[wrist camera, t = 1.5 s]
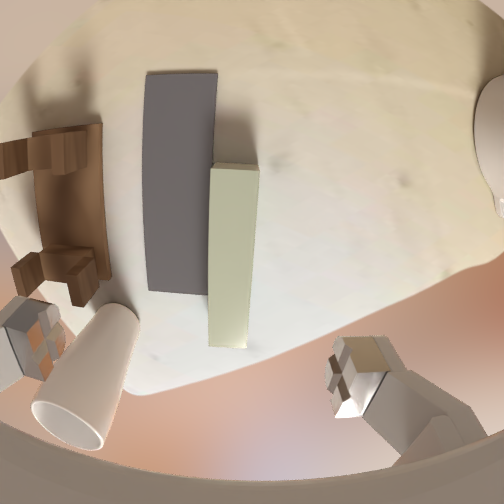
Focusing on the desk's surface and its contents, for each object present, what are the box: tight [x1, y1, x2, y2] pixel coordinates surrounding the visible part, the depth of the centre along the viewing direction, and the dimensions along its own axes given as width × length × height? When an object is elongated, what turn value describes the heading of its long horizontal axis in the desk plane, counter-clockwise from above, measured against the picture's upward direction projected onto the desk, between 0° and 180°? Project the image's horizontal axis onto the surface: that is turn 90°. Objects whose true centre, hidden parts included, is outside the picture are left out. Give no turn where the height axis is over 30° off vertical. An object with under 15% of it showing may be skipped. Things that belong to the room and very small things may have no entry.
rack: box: [0, 123, 112, 307], centre depth 23 cm, size 8×15×6 cm, turn 176°
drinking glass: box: [31, 303, 140, 450], centre depth 24 cm, size 7×7×15 cm
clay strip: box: [208, 162, 260, 348], centre depth 26 cm, size 16×4×4 cm, turn 176°
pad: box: [142, 74, 218, 295], centre depth 25 cm, size 6×20×1 cm, turn 176°
